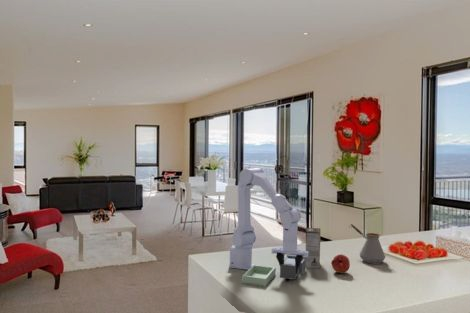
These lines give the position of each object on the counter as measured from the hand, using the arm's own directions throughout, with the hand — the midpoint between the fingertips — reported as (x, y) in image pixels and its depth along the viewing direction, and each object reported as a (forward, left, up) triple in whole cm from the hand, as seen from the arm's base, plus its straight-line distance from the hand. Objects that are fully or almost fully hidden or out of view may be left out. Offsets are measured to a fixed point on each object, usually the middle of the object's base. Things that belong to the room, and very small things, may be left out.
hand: (289, 272), depth 165 cm
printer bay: (0, +11, -3) cm, 11 cm away
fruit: (+18, +18, -3) cm, 26 cm away
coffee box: (+5, +25, -3) cm, 25 cm away
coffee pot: (+27, +45, -3) cm, 52 cm away
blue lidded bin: (0, +2, -2) cm, 3 cm away
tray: (-12, -3, -3) cm, 12 cm away
